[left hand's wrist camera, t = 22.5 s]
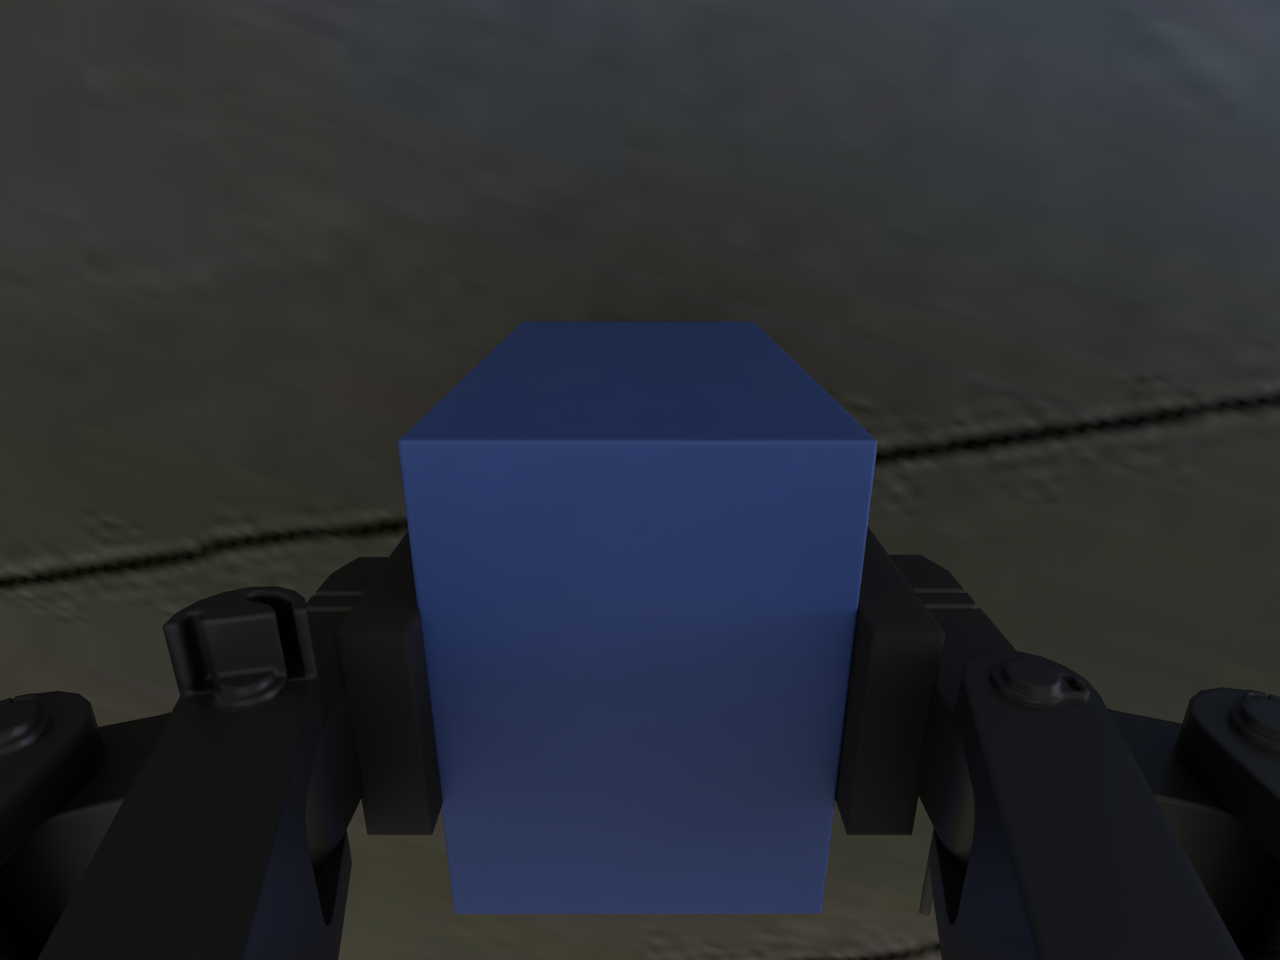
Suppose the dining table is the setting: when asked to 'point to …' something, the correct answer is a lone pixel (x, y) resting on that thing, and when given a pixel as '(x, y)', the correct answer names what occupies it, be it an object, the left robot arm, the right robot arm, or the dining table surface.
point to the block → (638, 618)
